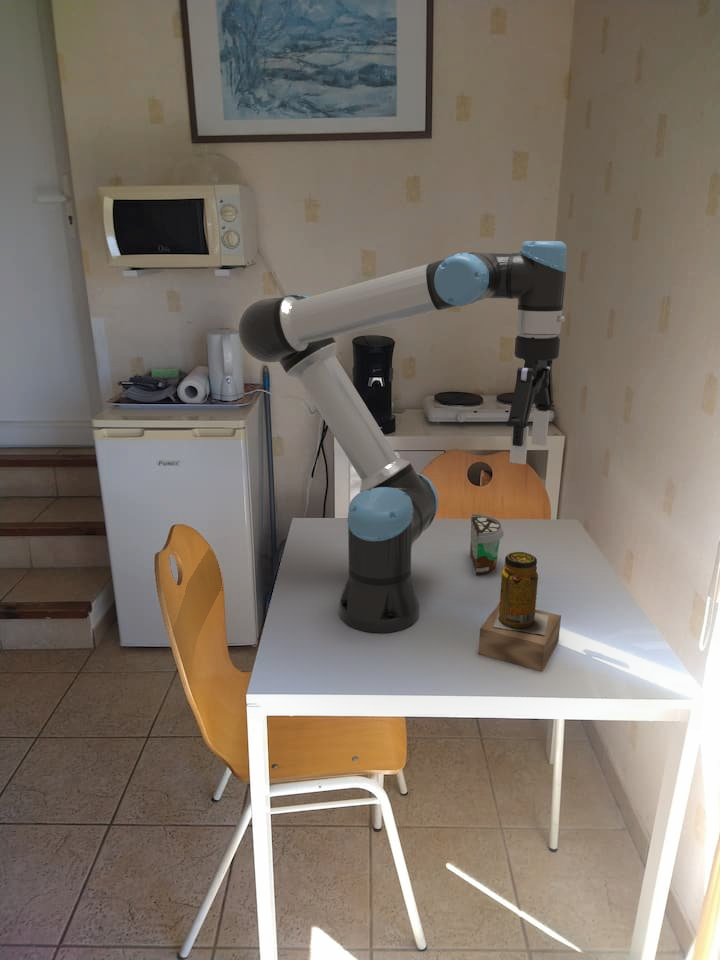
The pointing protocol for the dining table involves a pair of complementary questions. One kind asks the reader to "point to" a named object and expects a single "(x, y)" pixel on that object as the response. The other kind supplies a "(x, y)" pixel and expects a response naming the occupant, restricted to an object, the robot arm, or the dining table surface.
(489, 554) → the food container
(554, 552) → the dining table surface
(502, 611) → the condiment
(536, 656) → the walnut block
